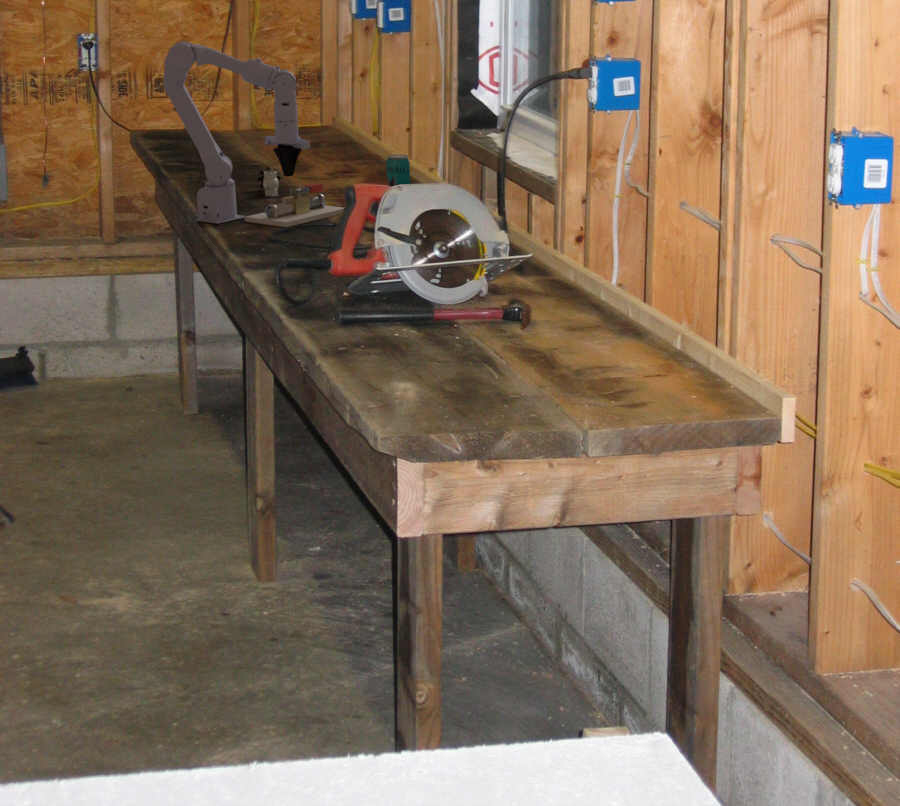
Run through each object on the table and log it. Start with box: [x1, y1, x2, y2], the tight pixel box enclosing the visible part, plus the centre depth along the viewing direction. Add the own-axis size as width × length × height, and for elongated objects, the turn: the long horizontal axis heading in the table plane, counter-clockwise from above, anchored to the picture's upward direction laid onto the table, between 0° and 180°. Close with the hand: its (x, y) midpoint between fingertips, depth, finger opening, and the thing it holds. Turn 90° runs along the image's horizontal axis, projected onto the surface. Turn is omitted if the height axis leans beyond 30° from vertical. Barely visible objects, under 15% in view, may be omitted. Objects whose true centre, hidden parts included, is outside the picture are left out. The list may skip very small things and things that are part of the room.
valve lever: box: [289, 182, 324, 196], centre depth 357 cm, size 10×3×2 cm, turn 143°
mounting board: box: [244, 205, 345, 228], centre depth 356 cm, size 22×14×1 cm, turn 142°
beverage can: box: [385, 154, 411, 186], centre depth 351 cm, size 6×6×15 cm
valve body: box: [264, 192, 327, 219], centre depth 355 cm, size 18×5×4 cm, turn 142°
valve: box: [256, 165, 282, 197], centre depth 390 cm, size 7×7×12 cm
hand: (288, 175), depth 353 cm, fingers closed
